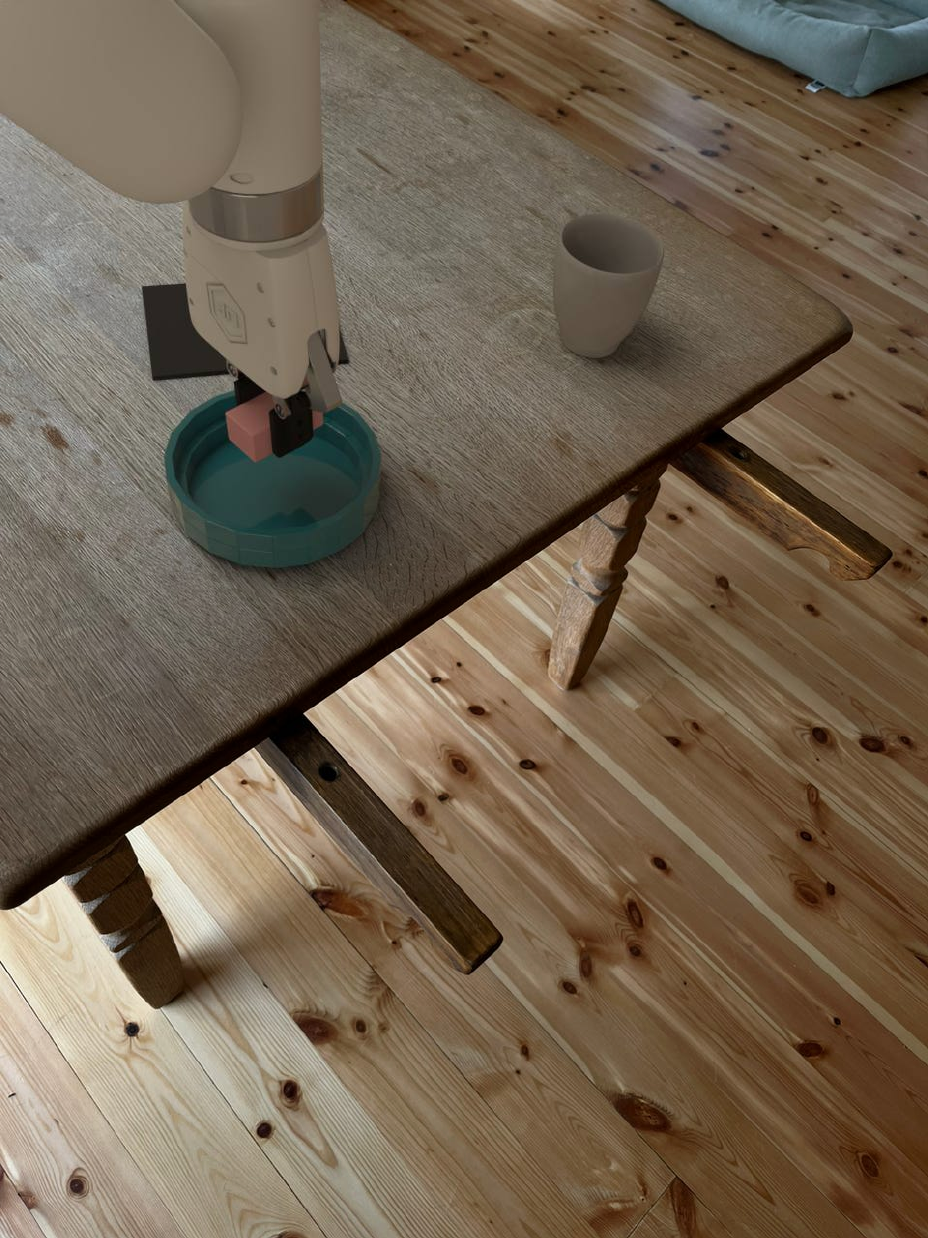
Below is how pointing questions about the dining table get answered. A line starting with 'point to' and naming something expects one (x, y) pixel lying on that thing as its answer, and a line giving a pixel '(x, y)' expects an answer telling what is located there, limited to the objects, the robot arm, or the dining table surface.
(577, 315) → the mug
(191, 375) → the mat
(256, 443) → the eraser
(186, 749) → the dining table surface
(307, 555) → the bowl
